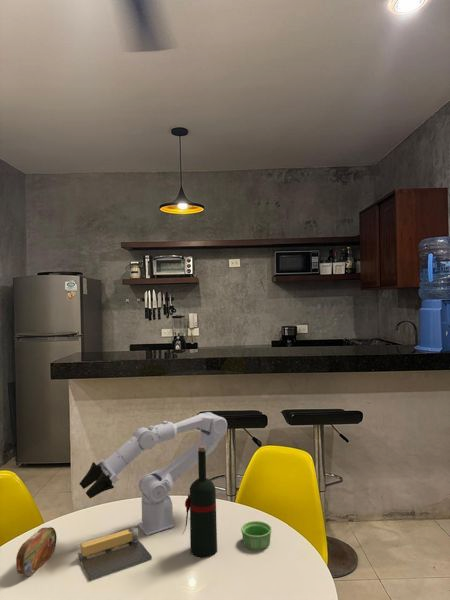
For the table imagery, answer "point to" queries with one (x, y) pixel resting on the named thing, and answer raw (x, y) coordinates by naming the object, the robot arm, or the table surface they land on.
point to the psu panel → (114, 559)
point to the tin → (36, 551)
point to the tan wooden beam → (109, 541)
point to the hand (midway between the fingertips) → (84, 491)
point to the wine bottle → (202, 512)
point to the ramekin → (256, 535)
